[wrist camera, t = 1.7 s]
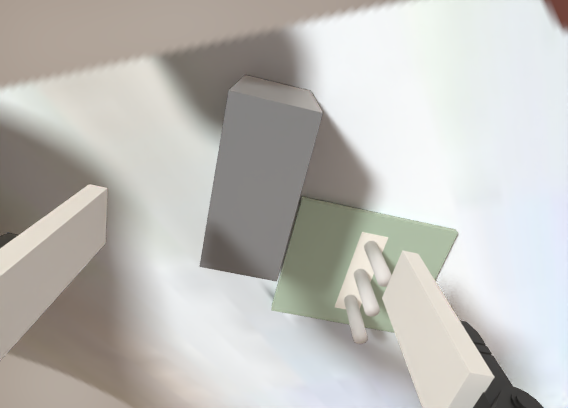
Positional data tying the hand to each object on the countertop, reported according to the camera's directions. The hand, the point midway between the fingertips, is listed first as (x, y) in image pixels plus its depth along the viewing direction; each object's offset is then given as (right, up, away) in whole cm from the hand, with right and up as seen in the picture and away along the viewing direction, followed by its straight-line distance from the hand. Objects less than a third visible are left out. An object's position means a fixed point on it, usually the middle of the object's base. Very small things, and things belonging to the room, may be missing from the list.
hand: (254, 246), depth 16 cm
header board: (+8, -4, +18) cm, 20 cm away
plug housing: (0, +6, +13) cm, 14 cm away
